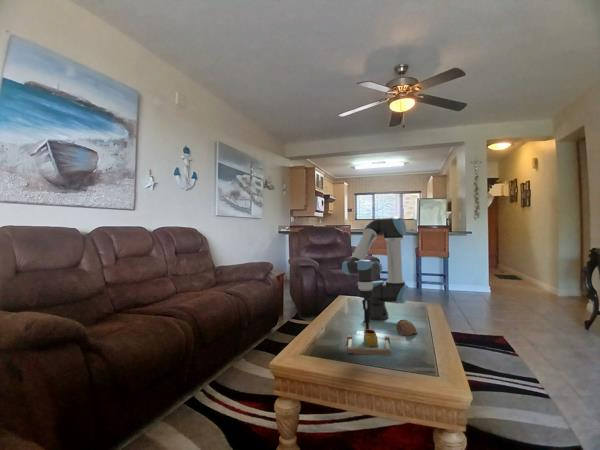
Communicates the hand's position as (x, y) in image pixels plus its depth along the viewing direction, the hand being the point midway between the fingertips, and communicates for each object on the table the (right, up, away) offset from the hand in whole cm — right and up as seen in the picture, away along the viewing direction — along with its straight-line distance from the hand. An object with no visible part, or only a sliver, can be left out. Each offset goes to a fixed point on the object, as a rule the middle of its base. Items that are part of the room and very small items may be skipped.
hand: (367, 334), depth 158 cm
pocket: (-2, -2, -13) cm, 13 cm away
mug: (-1, -2, -6) cm, 7 cm away
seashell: (+23, -2, +6) cm, 23 cm away
